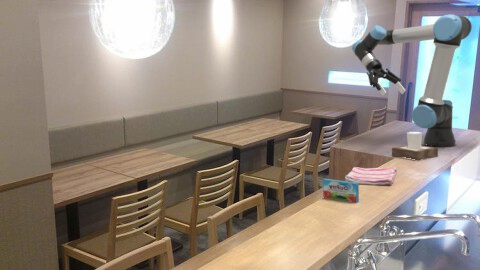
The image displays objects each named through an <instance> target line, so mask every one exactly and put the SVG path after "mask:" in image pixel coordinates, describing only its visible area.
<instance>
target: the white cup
mask: <svg viewBox="0 0 480 270" xmlns="http://www.w3.org/2000/svg"><path fill="white" fill-rule="evenodd" d="M406 139H407V140H406V141H407V145H408V148H410V149H420V148H421V145H422V144H423V143H422V142H423V132H421V131H408V132H406Z"/></svg>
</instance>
